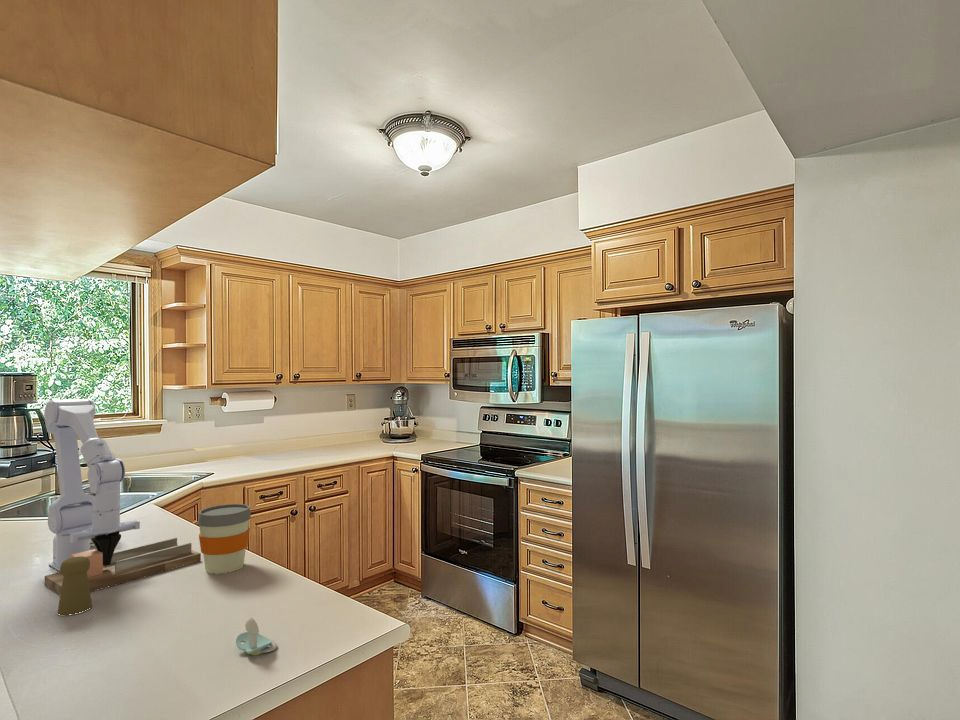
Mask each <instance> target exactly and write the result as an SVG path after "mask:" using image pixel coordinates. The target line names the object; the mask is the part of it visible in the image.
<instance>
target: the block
mask: <svg viewBox="0 0 960 720" xmlns="http://www.w3.org/2000/svg"><path fill="white" fill-rule="evenodd" d="M81 556H83V557H87V558H88V559H89V560H90V567H89V570H88V571H87V575H88V577H92V576H95V575H99V574H103V553H102V552H100V551H98V550H97V549H95V548H93V549H90V550H89V551H85V552H80V553H76V554H72V555H71V558H73V557H81Z"/></svg>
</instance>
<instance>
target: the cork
mask: <svg viewBox="0 0 960 720" xmlns="http://www.w3.org/2000/svg"><path fill="white" fill-rule="evenodd" d="M89 567H90V560H89V559H88V558H87V557H83V556H81V557H73V558H69V559H67V560H65V561H64V562H62V564H61V567H60V571H59V572H61V574H62V575H63V582H62V588H61V594H59V595H60V596H59V602H58V608H57V613H58V614H60V615H69V614H75V613H79V612H82V611H85V610H87V609H89V608H91V607H92V608H93V602H92V596H91V592H90V588H89V582H88V575H87V571H88V570H89ZM92 608H91V609H92ZM89 610H90V609H89ZM85 612H86V611H85ZM58 614H57V615H58Z"/></svg>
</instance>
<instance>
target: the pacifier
mask: <svg viewBox="0 0 960 720" xmlns="http://www.w3.org/2000/svg"><path fill="white" fill-rule="evenodd" d="M244 627H245V630H246V632H242V633H240V634H238V635H237V637H236V639H235V643H236V644H235V645H236V647H237V648H238V649H239V650H241V651H245V653H246V654H248V655H252V656H258V655H261V654H266V653H271V652H273V651H274V650H276V649H277V647H278V643H277V642H276V641H275V640H274V639H272V638H268V637H267V636H264V635H263V634H260V633H259V632H260V630H259V626H258V623H257V622H256V620H255V619H254V618H253V617H250V616H249V617H248V618H247V620H246V621H245V626H244ZM243 643H244V644H243ZM269 645H270V646H269ZM268 646H269V647H268Z"/></svg>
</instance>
